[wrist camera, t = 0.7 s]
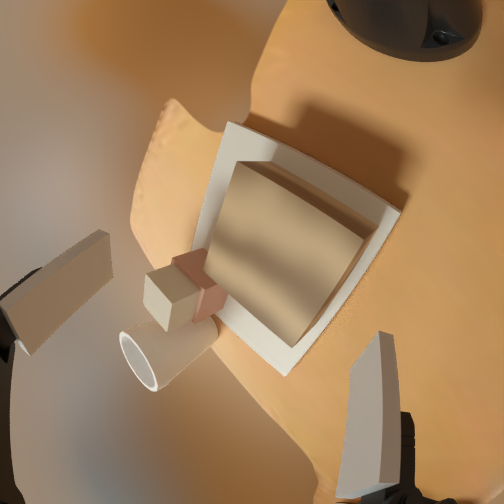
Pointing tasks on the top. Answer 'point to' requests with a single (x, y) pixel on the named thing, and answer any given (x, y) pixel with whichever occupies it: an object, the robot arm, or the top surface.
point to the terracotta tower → (182, 291)
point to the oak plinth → (284, 247)
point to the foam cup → (165, 349)
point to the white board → (321, 176)
